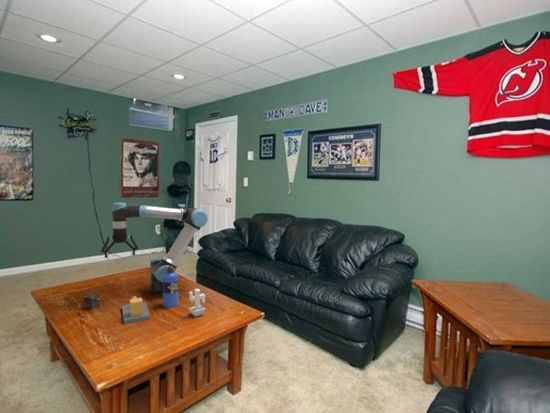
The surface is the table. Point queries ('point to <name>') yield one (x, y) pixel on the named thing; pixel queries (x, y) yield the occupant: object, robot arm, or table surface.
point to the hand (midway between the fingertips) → (120, 261)
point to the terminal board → (130, 319)
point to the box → (91, 301)
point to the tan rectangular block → (136, 307)
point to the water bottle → (170, 288)
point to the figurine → (197, 303)
